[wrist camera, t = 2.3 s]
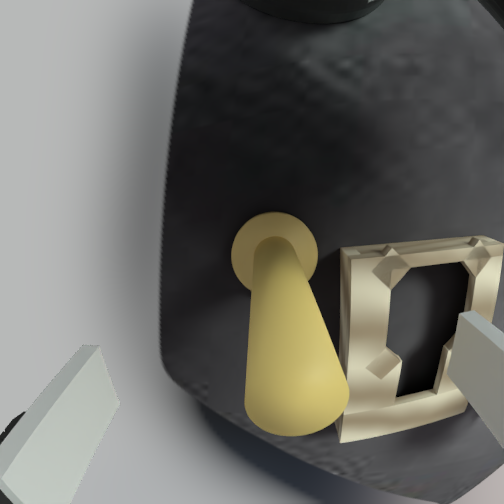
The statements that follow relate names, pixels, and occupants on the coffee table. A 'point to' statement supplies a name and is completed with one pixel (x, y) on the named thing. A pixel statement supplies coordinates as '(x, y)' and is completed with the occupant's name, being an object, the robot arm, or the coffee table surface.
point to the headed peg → (286, 330)
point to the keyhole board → (376, 324)
